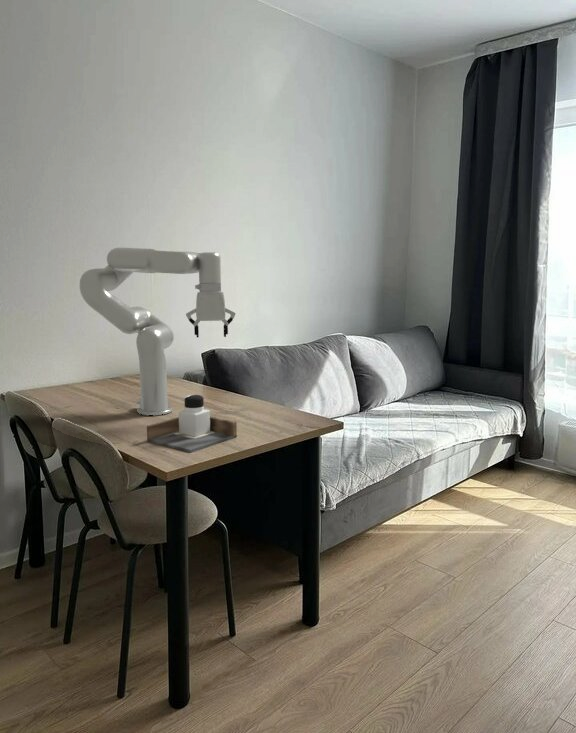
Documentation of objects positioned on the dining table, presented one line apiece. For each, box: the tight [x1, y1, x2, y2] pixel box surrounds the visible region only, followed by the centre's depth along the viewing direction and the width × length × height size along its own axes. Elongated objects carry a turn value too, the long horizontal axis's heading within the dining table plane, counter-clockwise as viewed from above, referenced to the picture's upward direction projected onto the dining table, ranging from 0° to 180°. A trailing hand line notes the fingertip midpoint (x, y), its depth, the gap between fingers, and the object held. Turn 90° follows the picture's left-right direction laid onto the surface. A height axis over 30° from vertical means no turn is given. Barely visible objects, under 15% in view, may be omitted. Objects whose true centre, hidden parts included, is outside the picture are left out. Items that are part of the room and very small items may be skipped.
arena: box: [146, 415, 238, 453], centre depth 195 cm, size 19×20×5 cm
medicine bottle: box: [178, 394, 211, 437], centre depth 198 cm, size 7×7×12 cm
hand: (211, 336), depth 222 cm, fingers open, 9 cm apart
